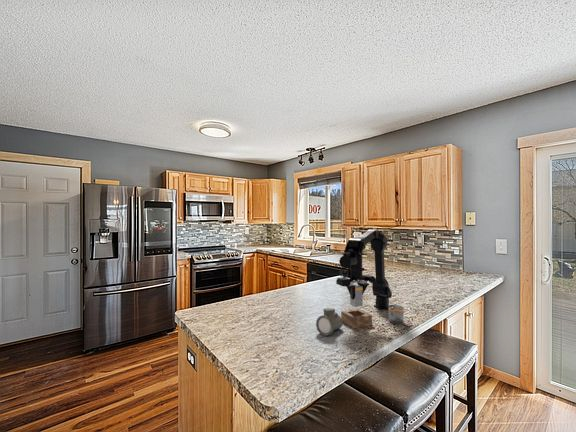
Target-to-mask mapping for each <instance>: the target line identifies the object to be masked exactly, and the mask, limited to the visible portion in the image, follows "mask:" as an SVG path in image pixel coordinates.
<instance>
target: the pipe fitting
mask: <svg viewBox="0 0 576 432" xmlns="http://www.w3.org/2000/svg"><path fill="white" fill-rule="evenodd" d="M322 312H323V315H320V316H318V317H317V319H316V320H315V321H316V322H315V327H316V330H317V332H318V333H319V334H320V335H322V336H324V337H327V336H330V335H331V334H333V333H334V331H336V330H338V329H341V328H342V327H343V323H344V322H343V320H342V318H341V315H339V314H338V312H337V311H336V308H333V307H326V308H325V307H324V308H322Z"/></svg>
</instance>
